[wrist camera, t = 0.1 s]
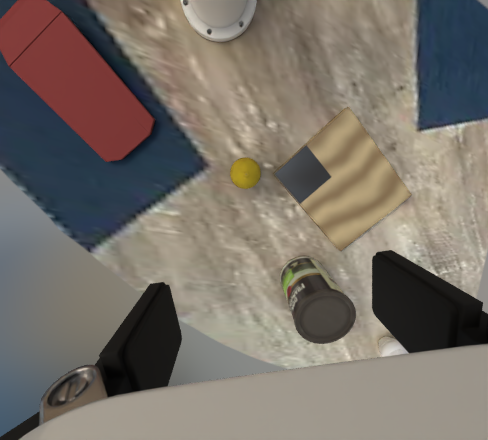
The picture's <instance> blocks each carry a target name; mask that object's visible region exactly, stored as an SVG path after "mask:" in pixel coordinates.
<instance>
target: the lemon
mask: <svg viewBox="0 0 488 440" xmlns="http://www.w3.org/2000/svg"><path fill="white" fill-rule="evenodd" d="M260 175H261V172H260V167H259V165H258V164H257V163H256V162H255V161H254V160H252V159H250V158H241V159H238V160H237V161H236V162H235V163H234V164H233V165H232V167H231V171H230V176H231V179H232V181H233V183H234V184H235V185H236V186H238V187H240V188H243V189H248V188H251V187H253V186H255V185H256V184H257V183H258V181H259V179H260Z"/></svg>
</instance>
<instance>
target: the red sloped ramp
mask: <svg viewBox="0 0 488 440" xmlns="http://www.w3.org/2000/svg"><path fill="white" fill-rule="evenodd" d="M0 50H1V52H2V54H3V56H4V58H5V60H6V62H7V64H8V66H10V68H11V69H12V70H13V71H14V72H15V73H16V74H17V75H18V76H19V77H20V78H21V79H22V80H23V81H24V82H26V83H27V84H28V85H29V86H30V87H31V88H32V89H33V90H34V91H35V92H36V93H37V94H38V95H39V96H40V97H41V98H42V99H43V100H44V101H45V102H46V103H47V104H48V105H49V106H50V107H51V108H52V109H53V110H54V111H55V112H56V113H57V114H58V115H59V116H60V117H61V118H62V119H63V120H64V121H65V122H66V123H67V124H68V125H69V126H70V127H71V128H72V129H73V130H74V131H75V132H76V133H77V134H78V135H79V136H80V137H81V138H82V139H83V140H84V141H85V142H86V143H87V144H88V145H90V146H91V147H92V148H93V149H94V150H95V151H96V152H97V153H98V154H99V155H100V156H101V157H102V158H103V159H104V160H105V161H106V162H108V161H114V160H121V159H124V158H125V157H126V156H127V155H128V154H129V153H130V152H132V151H133V150H134V149H135V148H136V147H137V146H138V145H139V144H141V143H142V142H143V141H144V140H145V139H146V138H147V137H149V136H150V135H151V134H152V130H153V126H154V123H155V119H154V118H153V116H152V115H151V114H150V113H149V112H148V111H147V109H146V108H145V107H144V106H143V105H142V103H141V102H140V101H139V100H138V99H137V98H136V96H135V95H134V94H133V93H132V92H131V91H130V89H129V88H128V87H127V86H126V85H125V83H124V82H123V81H122V80H121V79H120V78H119V76H118V75H117V74H116V73H115V72H114V71H113V69H112V68H111V67H110V66H109V65H108V63H107V62H106V61H105V60H104V59H103V58H102V56H101V55H100V54H99V53H98V52H97V51H96V49H95V48H94V47H93V46H92V45H91V43H90V42H89V41H88V40H87V39H86V38H85V36H84V35H83V34H82V33H81V32H80V31H79V29H78V28H77V27H76V26H75V25H74V23H73V22H72V21H71V20H70V19H69V18H68V16H66V15H65V14H64V13H63V12H62V11H60V10H59V9H58V8H56V7H55V6H53V5H52V4H50V3H49V2H48V1H46V0H18V1H17V2H16V3H15V4H14V5H13V6H12V7H11V8H10V9H9V11H8V12H7V13H6V14H5V15H4V16H3V17H2V18H1V19H0Z"/></svg>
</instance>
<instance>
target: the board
mask: <svg viewBox="0 0 488 440" xmlns="http://www.w3.org/2000/svg"><path fill="white" fill-rule="evenodd" d="M273 174H274V176H275V177H276V178H277V179H278V180H279V181H280V183H281V184H282V185H283V186H284V187H285V188H286V190H287V191H288V192H289V193H290V194H291V195H292V196H293V198H294V199H295V200H296V201H297V202H298V203H299V205H300V206H301V207H302V208H303V209H304V210H305V212H306V213H307V214H308V215H309V216H310V217H311V219H312V220H313V221H314V222H315V223H316V224H317V226H318V227H319V228H320V229H321V230H322V231H323V233H324V234H325V235H326V236H327V237H328V238H329V240H330V241H331V242H332V243H333V244H334V245H335V246H336V248H337V249H338V250H339V251H342V250H343V249H344V248H345V247H347V246H348V245H349V244H350V243H352V242H353V241H354V240H356V239H357V238H358V237H359V236H361V235H362V234H363V233H364V232H366V231H367V230H368V229H369V228H371V227H372V226H373V225H374V224H376V223H377V222H378V221H379V220H381V219H382V218H383V217H384V216H386V215H387V214H388V213H390V212H391V211H392V210H393V209H395V208H396V207H397V206H398V205H400V204H401V203H402V202H403V201H405V200H406V199H407V198H408V197H410V196H411V195H412V194H411V193H410V192H409V190H408V189H407V187H406V186H405V185H404V183H403V182H402V180H401V179H400V178H399V176H398V175H397V173H396V172H395V171H394V169H393V168H392V166H391V165H390V164H389V162H388V161H387V159H386V158H385V157H384V155H383V154H382V152H381V151H380V150H379V148H378V147H377V145H376V144H375V143H374V141H373V140H372V138H371V137H370V136H369V134H368V133H367V131H366V130H365V129H364V127H363V126H362V124H361V123H360V122H359V120H358V119H357V117H356V116H355V115H354V113H353V112H352V110H351V109H350V108H349V107H347V108H345V109H344V110H343V111H342V112H340V113H339V114H338V115H337V116H336V117H335V118H334V119H333V120H332V121H331V122H329V123H328V124H327V125H326V126H325V127H324V128H323V129H322V130H321V131H319V132H318V133H317V134H316V135H315V136H314V137H313V138H312V139H311V140H310V141H308V142H307V143H306V144H305V145H304V146H303V147H302V148H301V149H300V150H299V151H297V152H296V153H295V154H294V155H293V156H292V157H291V158H290V159H289V160H288V161H286V162H285V163H284V164H283V165H282V166H281V167H280V168H279V169H278V170H276V171H275V172H274V173H273Z"/></svg>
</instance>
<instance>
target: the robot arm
mask: <svg viewBox="0 0 488 440" xmlns="http://www.w3.org/2000/svg"><path fill="white" fill-rule="evenodd" d="M256 2H257V0H181V4H182V8H183V11H184V14H185V16H186V18H187V20H188V22H189V24H190V25H191V26H192V28H193V29H194V30H195V31H196V32H197V33H198V34H200V35H201V36H203V37H204V38H206V39H208V40H212V41H216V42H224V41H229V40H232V39H235V38H236V37H238V36H239V35H241V34H242V33H243V32H244V31H245V30H246V29H247V27H248V26H249V24H250V23H251V20H252V18H253V16H254V13H255V9H256ZM186 4H188V5H186ZM240 26H243V27H240ZM209 33H211V35H209ZM482 306H483V302H481V301H479V300H478V299H476V298H474V297H472V296H471V295H469V294H467V293H465V292H464V291H462V290H460V289H458V288H457V287H455V286H453V285H451V284H450V283H448V282H446V281H444V280H443V279H441V278H439V277H437V276H436V275H434V274H432V273H430V272H429V271H427V270H425V269H423V268H422V267H420V266H418V265H416V264H415V263H413V262H411V261H409V260H408V259H406V258H404V257H403V256H401V255H399V254H397V253H396V252H394V251H392V250H389V251H382V252H377V253H376V255H375V256H373V258H372V309H373V312H374V314H375V316H376V317H377V318H378V319H379V320H380V321H381V323H382V324H383V325H384V326H385V327H386V328H387V329H388V330H389V332H390V333H391V334H392V335H393V336H394V337H395V338H396V339H397V340H398V342H399V343H400V344H401V345H402V346H403V347H404V348H405V349H406V351H407V352H408V354H400V355H392V356H385V357H377V358H370V359H363V360H355V361H348V362H340V363H333V364H325V365H318V366H311V367H303V368H296V369H289V370H282V371H274V372H267V373H260V374H252V375H245V376H238V377H231V378H224V379H217V380H210V381H202V382H195V383H188V384H182V385H175V386H168V383H169V380H170V377H171V373H172V370H173V367H174V364H175V361H176V357H177V354H178V351H179V347H180V345H181V340H182V336H181V330H180V326H179V322H178V318H177V314H176V310H175V306H174V302H173V298H172V294H171V290H170V286H169V285H166V284H165V283H164V282H160V283H153V284H150V285H149V286H148V288H147V289H146V291H145V292H144V293H143V295H142V296H141V298H140V299H139V300H138V302H137V303H136V305H135V306H134V307H133V309H132V310H131V312H130V313H129V314H128V316H127V317H126V319H125V320H124V321H123V323H122V324H121V325H120V327H119V328H118V330H117V331H116V332H115V334H114V335H113V337H112V338H111V340H110V341H109V342H108V344H107V345H106V346H105V348H104V349H103V351H102V352H101V353H100V355H99V357H100V358H99V360H98V361H97V363H96V364H95V365H84V366H81V367H78V368H76V369H74V370H71V371H70V372H68V373H66V374H65V375H63V376H62V377H60V378H59V379H58V380H57V381H56V382H54V383H53V384H52V385H51V386H50V387H49V388H48V389H47V391H46V392H45V394H44V395H43V397H42V398H41V402H40V411H39V412H38V413H37V414H35V415H33V416H32V417H30V418H29V419H27V420H26V421H24V422H23V423H21V424H20V425H18V426H17V427H15V428H14V429H12V430H11V431H9V432H7V433H6V434H4V435H3V436H1V437H0V440H488V314H487V313H485V312H484V311H482Z"/></svg>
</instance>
